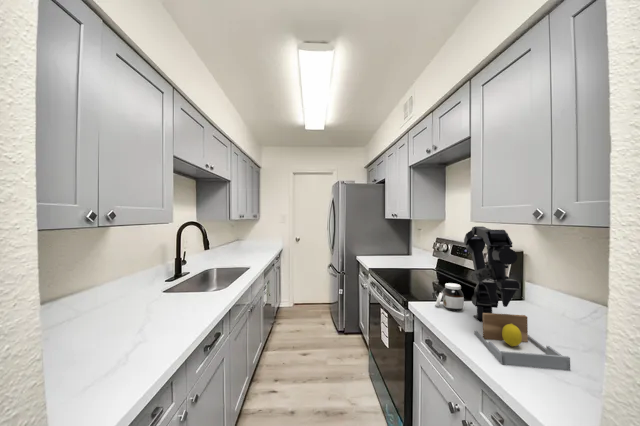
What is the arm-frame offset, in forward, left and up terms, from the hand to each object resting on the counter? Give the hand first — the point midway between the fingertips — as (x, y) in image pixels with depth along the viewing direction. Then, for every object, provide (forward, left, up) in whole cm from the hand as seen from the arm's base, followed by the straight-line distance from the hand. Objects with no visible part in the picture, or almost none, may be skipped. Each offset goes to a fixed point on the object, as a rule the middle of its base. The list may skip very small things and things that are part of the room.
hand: (498, 303), depth 100 cm
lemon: (+9, 0, -12) cm, 15 cm away
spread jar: (-28, -10, -12) cm, 32 cm away
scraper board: (+5, 0, -12) cm, 12 cm away
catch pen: (+12, 0, -12) cm, 17 cm away
